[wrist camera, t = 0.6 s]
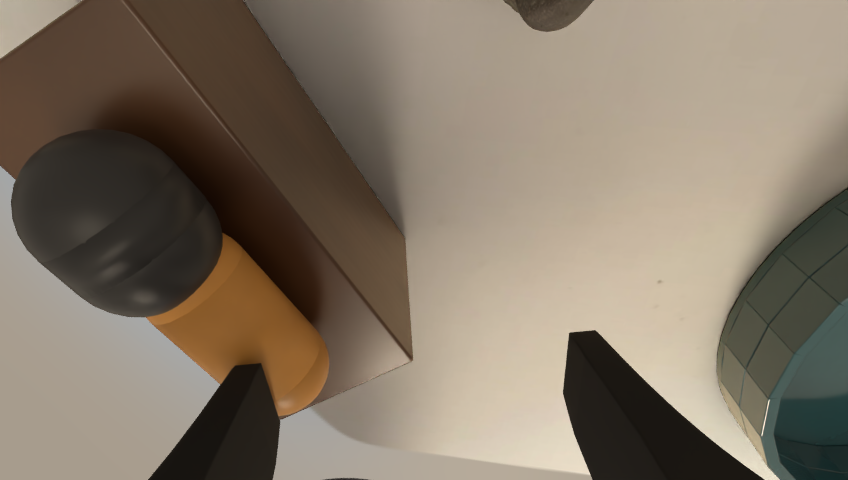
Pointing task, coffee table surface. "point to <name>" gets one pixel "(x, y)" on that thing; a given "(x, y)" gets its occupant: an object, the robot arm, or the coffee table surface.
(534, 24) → the dog figurine
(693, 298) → the coffee table surface
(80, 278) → the microphone
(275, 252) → the block
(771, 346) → the bowl
